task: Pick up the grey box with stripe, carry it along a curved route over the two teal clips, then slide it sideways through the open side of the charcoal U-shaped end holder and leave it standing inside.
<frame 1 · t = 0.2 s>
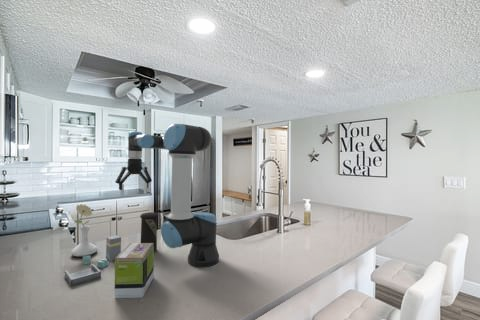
hand: (134, 194, 143), 28 cm above the worktop, fingers open, 13 cm apart
grey box with stripe: (113, 257, 120), on the worktop
clip b: (86, 262, 114), on the worktop
tea box: (135, 288, 93), on the worktop
clip a: (102, 266, 110), on the worktop
end holder: (82, 276, 100), on the worktop
container: (148, 250, 130), on the worktop
flower in vase: (83, 254, 123), on the worktop
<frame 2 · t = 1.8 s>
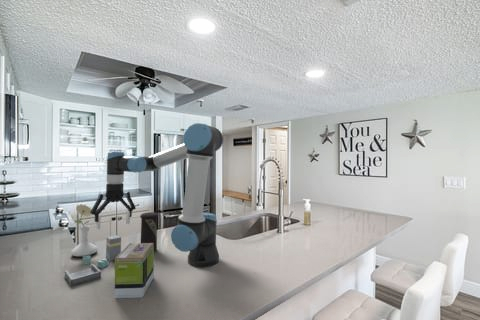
hand: (113, 226, 120), 15 cm above the worktop, fingers open, 13 cm apart
nothing on the worktop moved.
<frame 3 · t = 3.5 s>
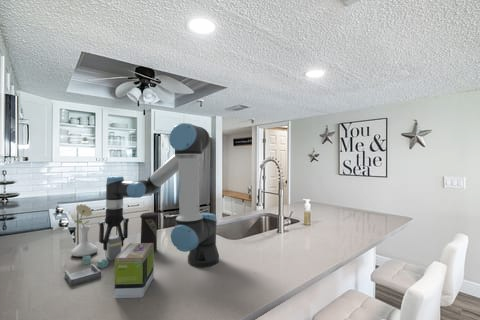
hand: (113, 254, 120), 1 cm above the worktop, fingers closed on grey box with stripe, 5 cm apart
grey box with stripe: (113, 257, 120), on the worktop, touching gripper
everything else where it was.
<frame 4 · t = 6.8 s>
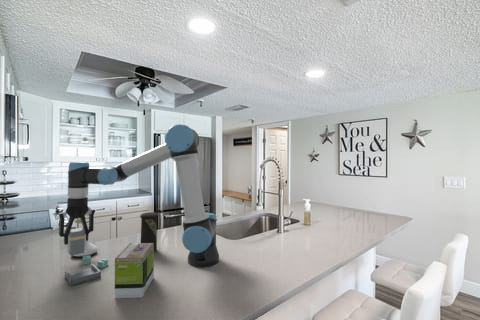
hand: (76, 249, 107), 8 cm above the worktop, fingers closed on grey box with stripe, 5 cm apart
grey box with stripe: (75, 252, 107), point 7 cm above the worktop, touching gripper
everything else where it was.
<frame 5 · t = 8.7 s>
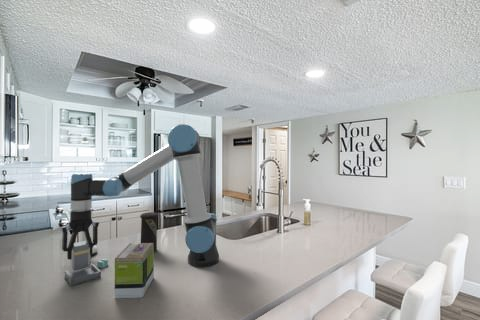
hand: (80, 264, 104), 4 cm above the worktop, fingers closed on grey box with stripe, 5 cm apart
grey box with stripe: (79, 267, 104), point 2 cm above the worktop, touching gripper
everything else where it was.
when the fingers open (3 cm above the worktop, at t = 10.4 s): grey box with stripe drops 1 cm, resting on end holder.
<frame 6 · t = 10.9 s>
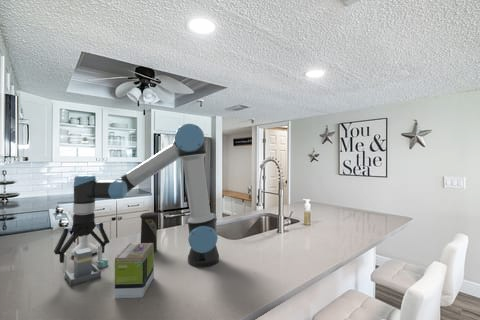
hand: (82, 265, 100), 5 cm above the worktop, fingers open, 12 cm apart
grey box with stripe: (82, 275, 100), point 1 cm above the worktop, touching end holder
everything else where it was.
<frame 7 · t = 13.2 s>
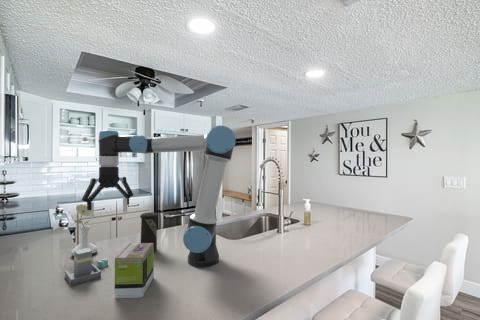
hand: (109, 215, 106), 24 cm above the worktop, fingers open, 13 cm apart
nothing on the worktop moved.
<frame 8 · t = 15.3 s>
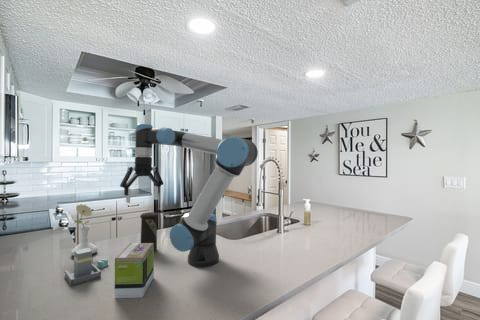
hand: (142, 201, 117), 29 cm above the worktop, fingers open, 13 cm apart
nothing on the worktop moved.
at the end: grey box with stripe 0.0 cm off-centre on the end holder, point 0.6 cm above the end holder's base; grey box with stripe tilted 0°; the gripper is holding nothing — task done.
